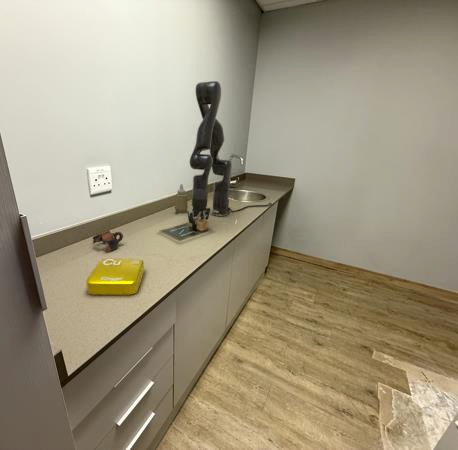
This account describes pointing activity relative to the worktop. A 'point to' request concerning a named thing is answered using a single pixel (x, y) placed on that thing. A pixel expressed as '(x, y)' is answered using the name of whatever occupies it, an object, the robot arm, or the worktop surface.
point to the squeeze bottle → (181, 201)
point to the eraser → (200, 225)
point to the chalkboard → (181, 232)
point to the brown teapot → (108, 239)
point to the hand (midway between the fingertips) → (198, 229)
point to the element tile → (116, 277)
